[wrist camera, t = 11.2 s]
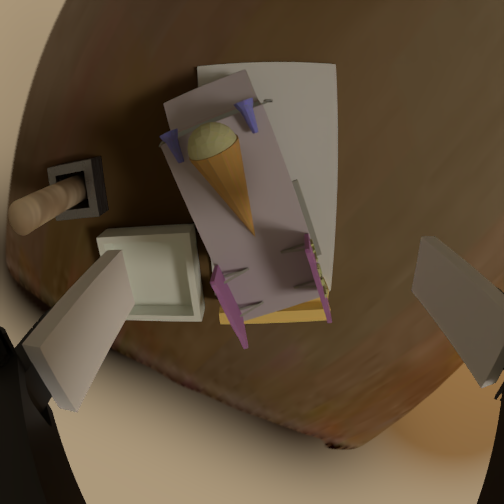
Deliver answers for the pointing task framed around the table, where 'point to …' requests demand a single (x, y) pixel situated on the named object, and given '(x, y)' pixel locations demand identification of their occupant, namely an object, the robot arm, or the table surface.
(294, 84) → the mat
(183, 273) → the tray
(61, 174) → the socket
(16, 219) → the pin
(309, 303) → the block
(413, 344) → the table surface
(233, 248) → the toy vehicle
